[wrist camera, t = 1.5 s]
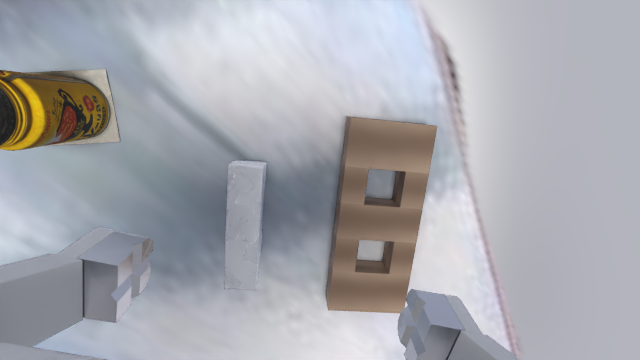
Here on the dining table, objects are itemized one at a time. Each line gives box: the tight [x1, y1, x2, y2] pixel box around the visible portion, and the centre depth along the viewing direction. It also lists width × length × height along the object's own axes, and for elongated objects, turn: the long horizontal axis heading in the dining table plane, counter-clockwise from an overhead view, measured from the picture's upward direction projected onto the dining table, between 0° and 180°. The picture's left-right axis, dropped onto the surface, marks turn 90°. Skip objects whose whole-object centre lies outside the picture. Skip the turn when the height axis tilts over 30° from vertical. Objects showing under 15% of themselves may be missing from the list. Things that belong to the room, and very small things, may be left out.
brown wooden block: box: [326, 117, 437, 313], centre depth 36 cm, size 22×9×3 cm, turn 174°
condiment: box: [0, 69, 120, 151], centre depth 27 cm, size 7×8×12 cm
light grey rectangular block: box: [224, 160, 267, 290], centre depth 32 cm, size 12×3×8 cm, turn 174°
